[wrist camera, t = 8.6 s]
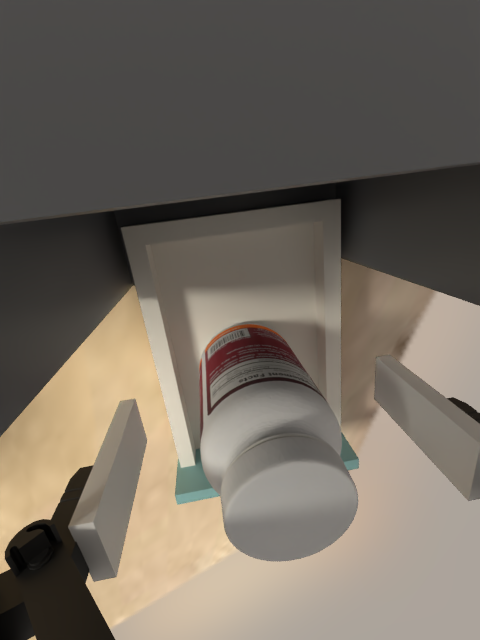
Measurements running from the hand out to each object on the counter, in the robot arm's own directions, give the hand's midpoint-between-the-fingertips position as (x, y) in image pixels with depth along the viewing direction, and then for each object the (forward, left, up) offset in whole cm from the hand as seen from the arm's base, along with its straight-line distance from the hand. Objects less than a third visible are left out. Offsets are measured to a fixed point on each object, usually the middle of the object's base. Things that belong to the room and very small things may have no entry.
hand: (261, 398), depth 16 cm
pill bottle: (0, 0, -4) cm, 5 cm away
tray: (0, 0, -5) cm, 5 cm away
